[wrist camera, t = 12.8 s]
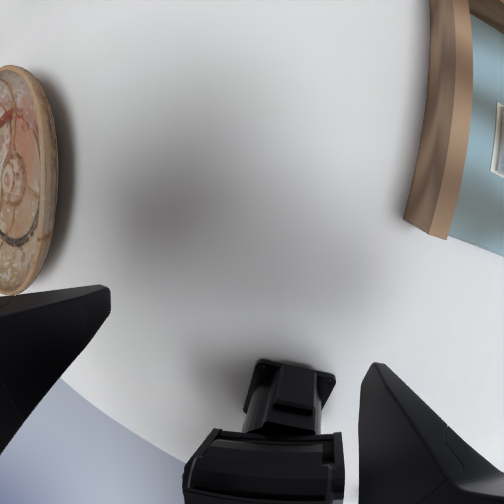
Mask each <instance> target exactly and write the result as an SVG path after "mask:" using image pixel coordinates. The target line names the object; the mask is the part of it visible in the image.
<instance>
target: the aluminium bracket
mask: <svg viewBox="0 0 504 504" xmlns="http://www.w3.org/2000/svg"><path fill="white" fill-rule="evenodd" d="M496 171H497V172H499V173H500V174H502V175H504V107H502V117H501V131H500V142H499V151H498V159H497V165H496Z"/></svg>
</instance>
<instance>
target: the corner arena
mask: <svg viewBox="0 0 504 504" xmlns="http://www.w3.org/2000/svg"><path fill="white" fill-rule="evenodd" d="M502 107H504V0H430V65H429V79H428V91H427V100H426V109H425V117H424V124H423V130H422V137H421V143H420V148H419V154H418V159H417V164H416V169H415V174H414V178H413V183H412V187H411V191H410V196H409V200H408V204H407V208H406V211H405V215H404V219H403V220H405V221H407V222H408V223H410V224H412V225H414V226H415V227H417V228H419V229H420V230H422V231H424V232H425V233H427V234H429V235H432V236H435V237H438V238H441V239H444V240H447V237H448V235H449V236H452V237H455V238H458V239H460V240H463V241H466V242H469V243H471V244H474V245H477V246H479V247H482V248H484V249H487V250H489V251H492V252H495V253H497V254H499V255H502V256H504V175H502V174H500V173H499V172H497V171H496V165H497V159H498V151H499V142H500V131H501V117H502Z"/></svg>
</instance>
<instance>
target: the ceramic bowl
mask: <svg viewBox="0 0 504 504" xmlns="http://www.w3.org/2000/svg"><path fill="white" fill-rule="evenodd" d="M57 192H58V151H57V139H56V130H55V124H54V118H53V114H52V110H51V107H50V104H49V101H48V98H47V96H46V93H45V91H44V89H43V88H42V86H41V84H40V83H39V81H38V80H37V79H36V78H35V77H34V76H33V75H32V74H31V73H30V72H29V71H27V70H25V69H23V68H21V67H18V66H14V65H6V66H3V67H1V68H0V293H1V294H4V295H16V294H19V293H22V292H23V291H24V290H26V289H27V288H28V287H29V286H30V285H31V284H32V283H33V282H34V281H35V279H36V278H37V276H38V275H39V273H40V271H41V269H42V266H43V264H44V261H45V259H46V256H47V253H48V250H49V247H50V243H51V239H52V234H53V229H54V222H55V212H56V205H57Z"/></svg>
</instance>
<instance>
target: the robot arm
mask: <svg viewBox="0 0 504 504" xmlns="http://www.w3.org/2000/svg"><path fill="white" fill-rule="evenodd" d="M110 311H111V295H110V289H109V288H108V287H105V286H103V285H91V286H84V287H76V288H68V289H60V290H52V291H44V292H36V293H28V294H20V295H16V296H15V295H11V296H2V297H0V455H1V453H2V452H3V450H4V449H5V447H6V446H7V445H8V443H9V442H10V441H11V439H12V438H13V437H14V435H15V434H16V432H17V431H18V430H19V428H20V427H21V426H22V424H23V423H24V421H25V420H26V419H27V418H28V416H29V415H30V414H31V412H32V411H33V410H34V409H35V407H36V406H37V405H38V404H39V402H40V401H41V400H42V398H43V397H44V396H45V395H46V393H47V392H48V391H49V390H50V389H51V387H52V386H53V385H54V384H55V383H56V381H57V380H58V379H59V378H60V376H61V375H62V374H63V373H64V372H65V371H66V369H67V368H68V367H69V366H70V365H71V363H72V362H73V361H74V360H75V359H76V358H77V356H78V355H79V354H80V353H81V352H82V351H83V350H84V348H85V347H86V346H87V345H88V344H89V342H90V341H91V340H92V338H93V337H94V335H95V334H96V332H97V331H98V330H99V328H100V327H101V325H102V324H103V323H104V321H105V320H106V318H107V317H108V316H109V314H110ZM260 365H264V367H262V366H260ZM329 380H331V381H330V382H328V381H329ZM335 384H336V378H335V376H333V375H330V374H325V373H320V372H315V371H310V370H306V369H301V368H297V367H293V366H288V365H284V364H280V363H276V362H272V361H268V360H264V359H261V360H258V361H257V363H256V366H255V370H254V373H253V377H252V380H251V384H250V387H249V391H248V394H247V398H246V401H245V405H244V408H243V411H244V412H245V413H246V418H245V421H244V424H243V428H242V431H241V432H232V431H222V429H216V428H214V429H213V430H212V431H211V433H210V434H209V435H208V437H207V438H206V439H205V440H204V442H203V443H202V444H201V446H200V447H199V448H198V449H197V451H196V452H195V453H194V454H193V456H192V457H191V458H190V460H189V461H188V462H187V463H186V465H185V467H184V473H183V476H182V479H183V483H182V489H183V495H184V500H185V504H343V498H344V487H345V466H344V454H343V444H342V434H341V432H335V433H333V434H321V411H322V409H323V407H324V405H325V403H326V401H327V399H328V397H329V396H330V394H331V392H332V390H333V388H334V386H335ZM358 436H359V502H358V504H504V473H503V472H501V471H500V470H498V469H497V468H496V467H495V466H493V465H492V464H491V463H490V462H488V461H487V460H486V459H485V458H484V457H482V456H481V455H480V454H479V453H478V452H476V451H475V450H474V449H473V448H472V447H471V446H469V445H468V444H467V443H466V442H465V441H464V440H463V439H462V438H461V437H460V436H458V435H457V434H456V433H455V432H454V431H453V430H452V429H451V428H450V427H449V426H448V427H447V424H446V423H445V422H444V421H443V420H442V419H441V418H440V417H439V416H438V415H437V414H436V413H435V412H434V411H433V410H432V409H431V408H430V407H429V406H428V405H427V404H426V403H425V402H424V401H423V400H422V399H421V398H420V397H419V396H418V395H417V394H415V393H414V392H413V391H412V390H411V389H410V388H409V387H408V386H407V385H406V384H405V383H404V382H403V381H402V380H401V379H400V378H399V377H398V376H397V375H396V374H395V373H394V372H393V371H392V370H391V369H390V368H389V367H388V366H387V365H385V364H383V363H377V362H374V363H372V364H371V366H370V368H369V370H368V372H367V374H366V375H365V377H364V379H363V381H362V384H361V391H360V408H359V423H358Z"/></svg>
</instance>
